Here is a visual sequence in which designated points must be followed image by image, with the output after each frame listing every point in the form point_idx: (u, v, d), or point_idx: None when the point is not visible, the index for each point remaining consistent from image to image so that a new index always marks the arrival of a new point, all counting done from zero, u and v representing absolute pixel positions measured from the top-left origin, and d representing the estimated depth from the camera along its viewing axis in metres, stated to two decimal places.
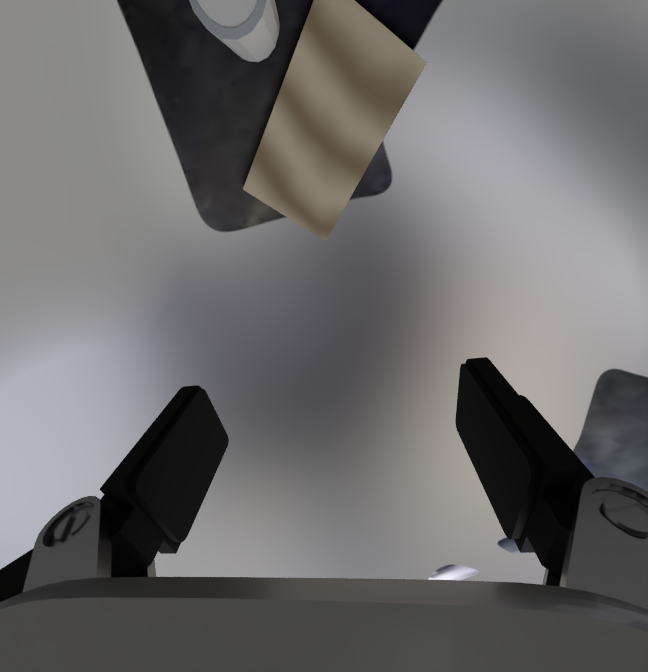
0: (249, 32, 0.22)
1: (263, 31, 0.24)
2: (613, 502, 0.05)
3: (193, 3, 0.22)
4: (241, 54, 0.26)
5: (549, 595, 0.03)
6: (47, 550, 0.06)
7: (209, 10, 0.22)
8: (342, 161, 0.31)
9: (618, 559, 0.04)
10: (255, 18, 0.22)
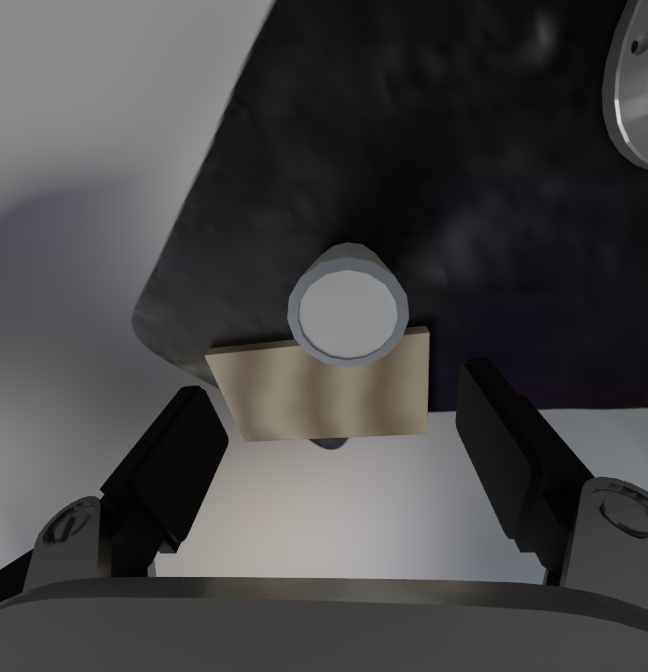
0: (323, 361, 0.17)
1: None
2: (613, 502, 0.05)
3: (296, 294, 0.15)
4: None
5: (548, 595, 0.03)
6: (47, 550, 0.06)
7: (305, 314, 0.15)
8: (314, 420, 0.28)
9: (618, 559, 0.04)
10: (339, 363, 0.17)
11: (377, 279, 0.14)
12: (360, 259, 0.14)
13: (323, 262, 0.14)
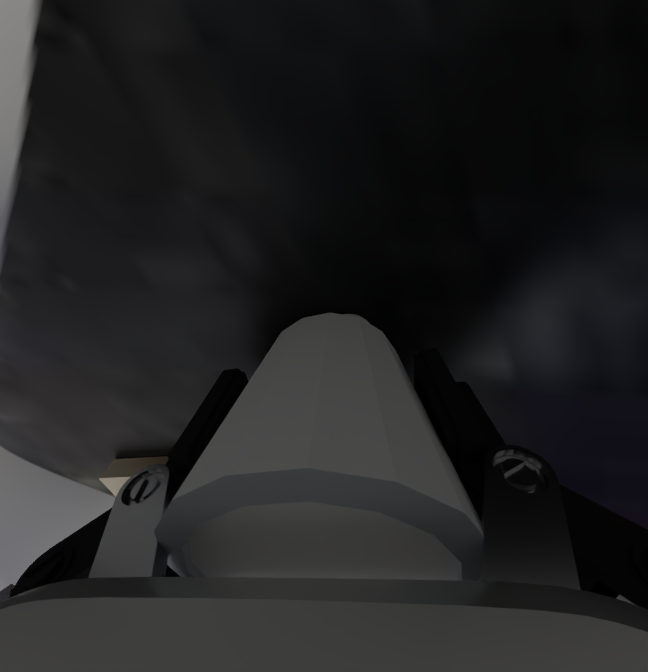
0: None
1: None
2: (508, 465, 0.06)
3: (169, 529, 0.05)
4: None
5: (549, 595, 0.03)
6: (127, 508, 0.06)
7: (209, 558, 0.06)
8: None
9: (499, 506, 0.05)
10: None
11: (409, 518, 0.04)
12: (354, 468, 0.04)
13: (234, 471, 0.04)
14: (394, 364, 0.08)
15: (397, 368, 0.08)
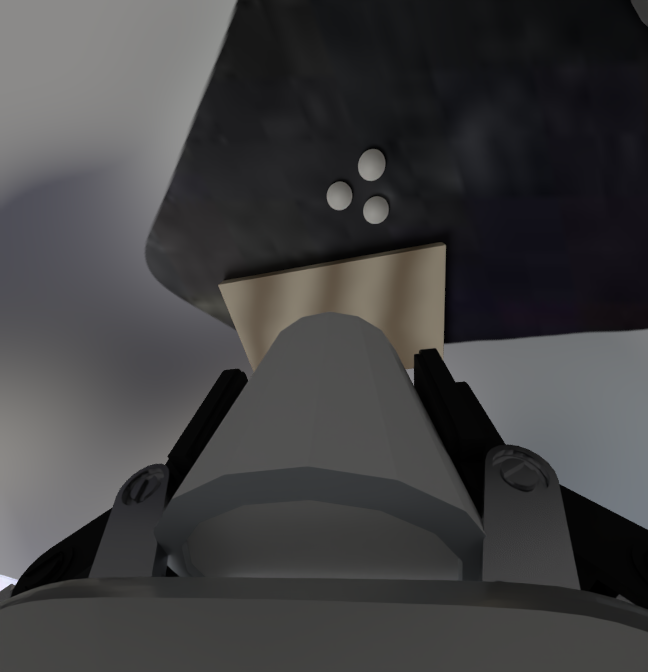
0: None
1: None
2: (508, 465, 0.06)
3: (169, 529, 0.05)
4: None
5: (549, 595, 0.03)
6: (128, 508, 0.06)
7: (208, 558, 0.06)
8: None
9: (499, 506, 0.05)
10: None
11: (410, 517, 0.04)
12: (355, 467, 0.04)
13: (234, 470, 0.04)
14: (394, 363, 0.08)
15: (397, 367, 0.08)
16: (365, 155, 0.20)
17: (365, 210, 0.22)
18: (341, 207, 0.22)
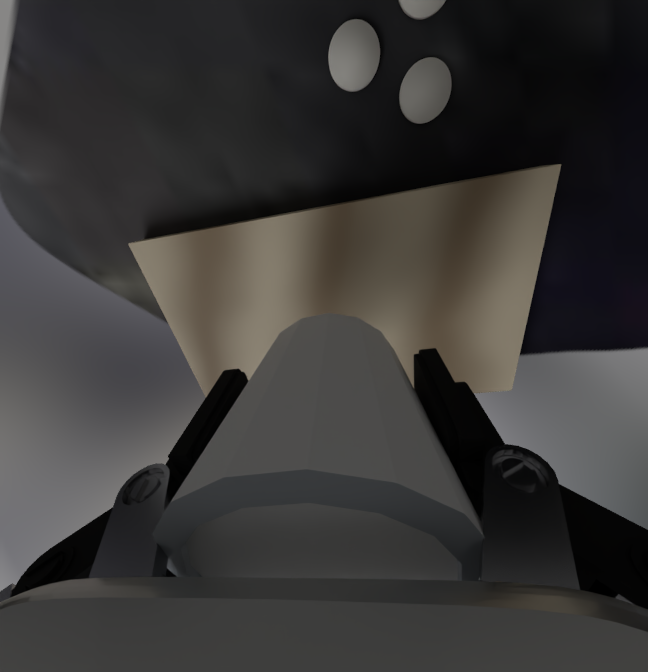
0: None
1: None
2: (507, 465, 0.06)
3: (168, 532, 0.05)
4: None
5: (548, 595, 0.03)
6: (128, 508, 0.06)
7: (208, 560, 0.06)
8: None
9: (499, 505, 0.05)
10: None
11: (409, 520, 0.04)
12: (354, 470, 0.04)
13: (233, 473, 0.04)
14: (393, 364, 0.08)
15: (396, 368, 0.08)
16: None
17: (405, 91, 0.11)
18: (356, 84, 0.11)
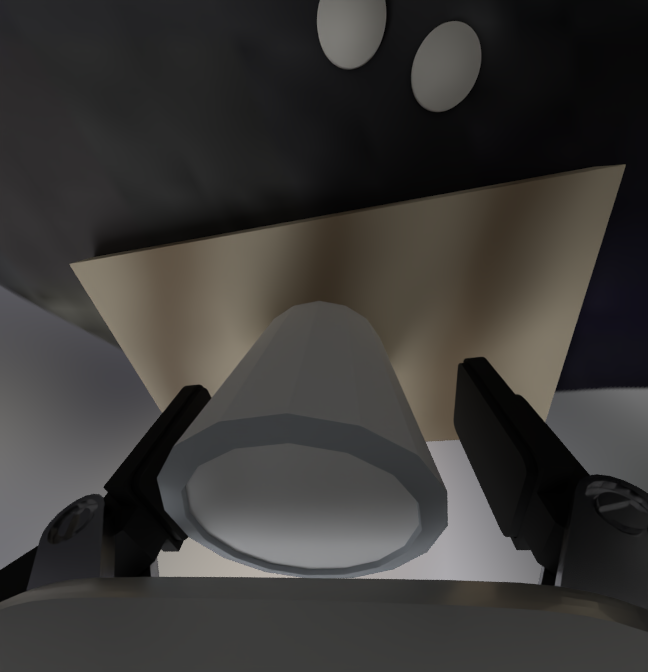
0: (259, 569, 0.08)
1: None
2: (607, 499, 0.05)
3: (170, 475, 0.06)
4: None
5: (548, 595, 0.03)
6: (51, 547, 0.06)
7: (204, 505, 0.06)
8: None
9: (611, 555, 0.04)
10: (291, 575, 0.08)
11: (373, 461, 0.05)
12: (326, 416, 0.05)
13: (227, 418, 0.05)
14: (374, 345, 0.09)
15: (377, 349, 0.09)
16: None
17: (419, 68, 0.08)
18: (355, 58, 0.08)
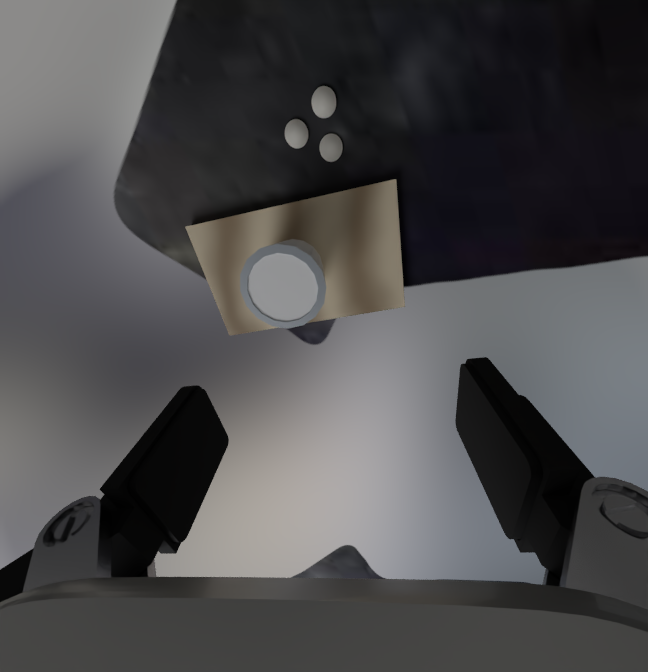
0: (270, 324, 0.23)
1: None
2: (613, 502, 0.05)
3: (244, 271, 0.21)
4: None
5: (549, 594, 0.03)
6: (47, 550, 0.06)
7: (253, 286, 0.21)
8: None
9: (618, 559, 0.04)
10: (281, 325, 0.22)
11: (299, 259, 0.20)
12: (286, 245, 0.20)
13: (261, 248, 0.20)
14: (311, 248, 0.24)
15: (311, 249, 0.24)
16: (317, 92, 0.21)
17: (321, 147, 0.23)
18: (299, 145, 0.23)
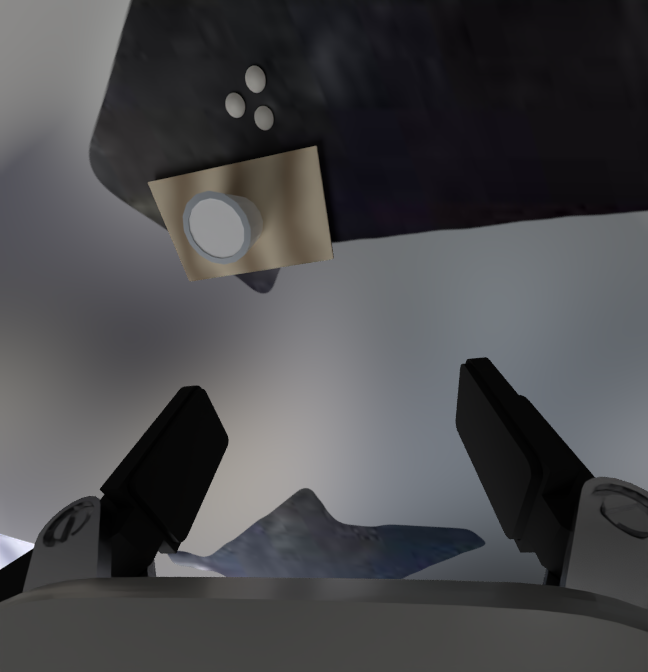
0: (209, 260, 0.28)
1: None
2: (613, 502, 0.05)
3: (185, 214, 0.26)
4: None
5: (549, 595, 0.03)
6: (47, 550, 0.06)
7: (193, 227, 0.27)
8: None
9: (618, 559, 0.04)
10: (218, 261, 0.28)
11: (227, 204, 0.25)
12: (216, 192, 0.25)
13: (197, 194, 0.25)
14: (246, 201, 0.29)
15: (247, 202, 0.29)
16: (249, 71, 0.27)
17: (256, 117, 0.28)
18: (237, 115, 0.28)
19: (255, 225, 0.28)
